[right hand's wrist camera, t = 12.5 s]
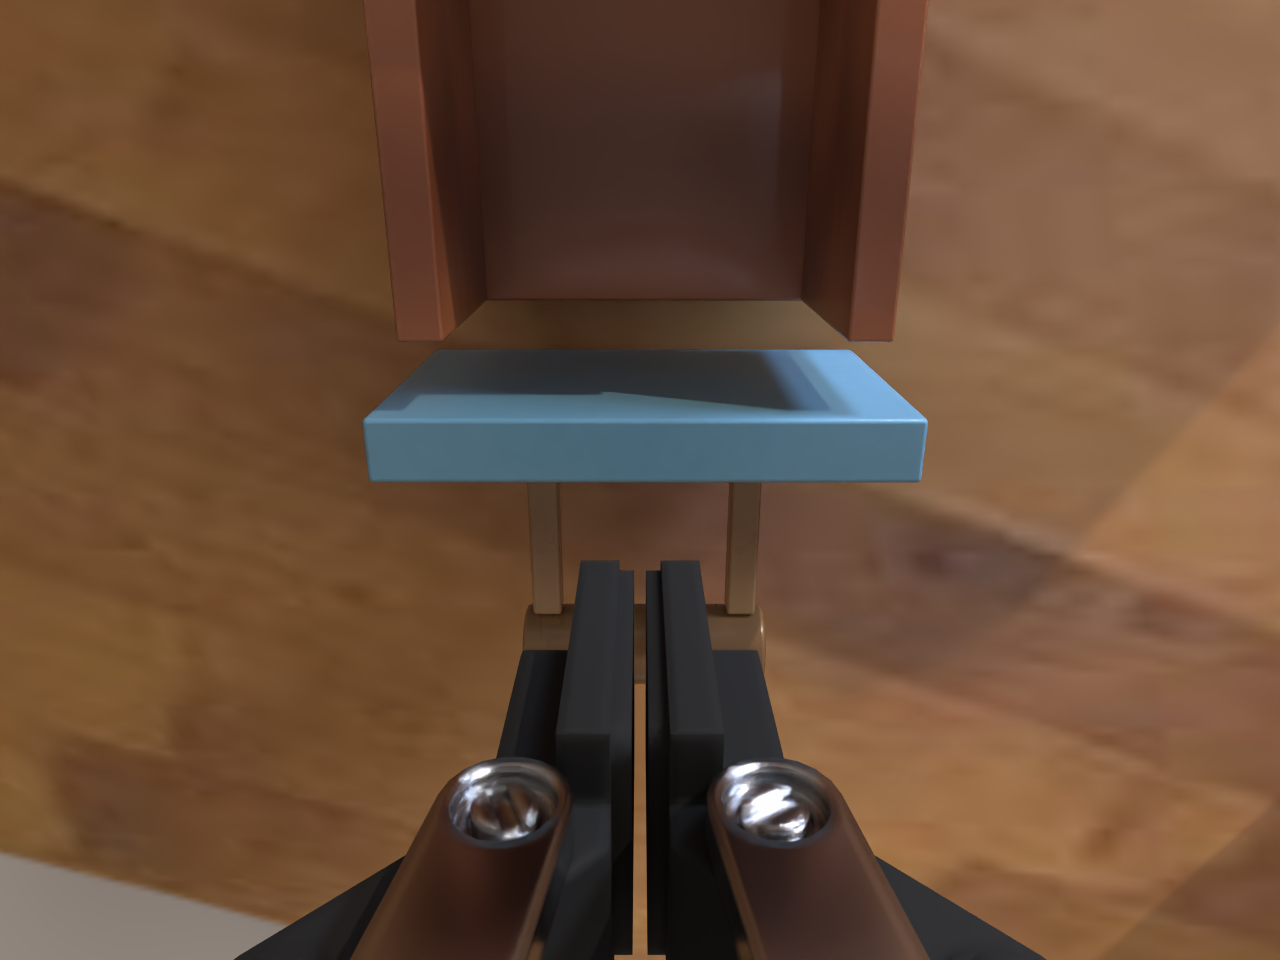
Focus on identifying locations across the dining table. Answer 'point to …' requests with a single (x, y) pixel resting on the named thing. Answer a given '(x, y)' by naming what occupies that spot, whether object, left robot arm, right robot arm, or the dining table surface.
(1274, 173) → the dining table surface
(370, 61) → the drawer
